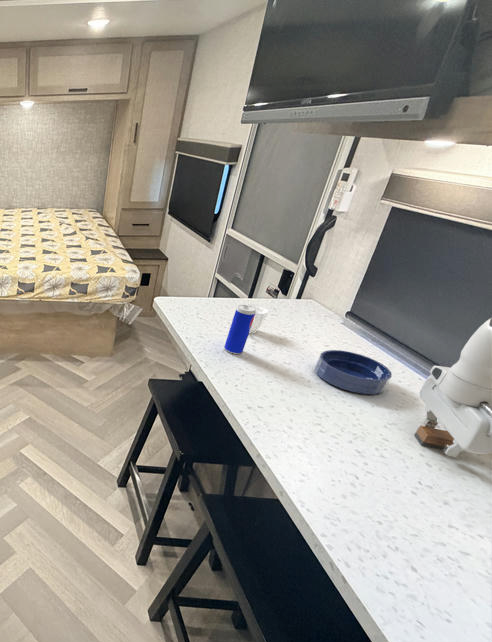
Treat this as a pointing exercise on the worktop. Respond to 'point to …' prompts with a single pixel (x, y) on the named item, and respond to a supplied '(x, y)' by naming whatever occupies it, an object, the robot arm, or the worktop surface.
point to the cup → (258, 318)
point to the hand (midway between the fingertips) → (437, 439)
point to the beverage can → (240, 329)
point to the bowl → (352, 372)
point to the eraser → (433, 437)
